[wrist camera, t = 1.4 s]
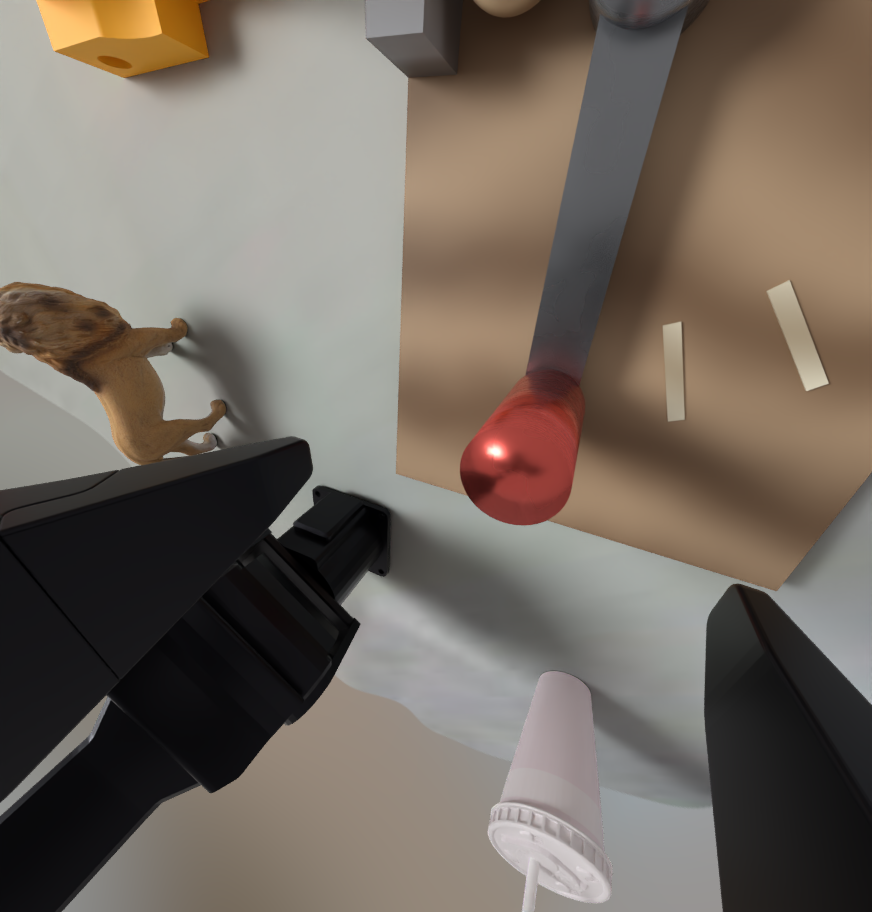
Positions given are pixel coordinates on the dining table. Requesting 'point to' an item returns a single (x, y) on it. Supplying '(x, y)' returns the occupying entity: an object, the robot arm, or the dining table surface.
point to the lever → (578, 264)
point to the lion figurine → (105, 365)
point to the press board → (652, 268)
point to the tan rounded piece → (506, 7)
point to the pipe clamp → (126, 33)
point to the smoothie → (555, 798)
